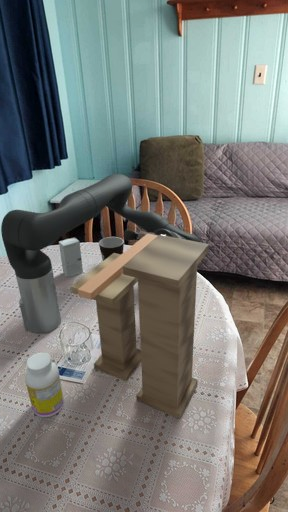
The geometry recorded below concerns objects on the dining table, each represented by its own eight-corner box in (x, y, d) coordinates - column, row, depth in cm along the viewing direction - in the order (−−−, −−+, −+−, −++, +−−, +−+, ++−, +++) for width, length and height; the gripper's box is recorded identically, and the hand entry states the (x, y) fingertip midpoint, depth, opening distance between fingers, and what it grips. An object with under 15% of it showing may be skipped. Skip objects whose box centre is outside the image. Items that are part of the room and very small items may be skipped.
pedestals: (120, 336, 95) (111, 216, 79) (206, 366, 85) (215, 235, 69) (78, 383, 81) (57, 250, 65) (175, 426, 71) (178, 280, 55)
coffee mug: (124, 273, 124) (122, 247, 119) (99, 273, 124) (97, 248, 120) (126, 257, 134) (125, 233, 130) (103, 257, 135) (101, 233, 130)
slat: (147, 238, 90) (147, 233, 89) (158, 241, 88) (158, 235, 88) (78, 295, 68) (77, 289, 67) (91, 300, 67) (90, 293, 66)
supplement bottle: (33, 396, 78) (22, 351, 72) (64, 390, 80) (55, 346, 74) (32, 422, 73) (19, 376, 67) (65, 415, 74) (56, 369, 68)
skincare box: (67, 277, 122) (62, 246, 117) (62, 272, 126) (57, 241, 120) (84, 272, 125) (80, 241, 120) (78, 267, 129) (74, 236, 123)
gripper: (188, 263, 95) (165, 259, 80) (141, 252, 101) (112, 247, 86) (194, 235, 95) (172, 226, 80) (146, 226, 101) (118, 216, 86)
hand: (141, 237), depth 83 cm, fingers open, 8 cm apart
